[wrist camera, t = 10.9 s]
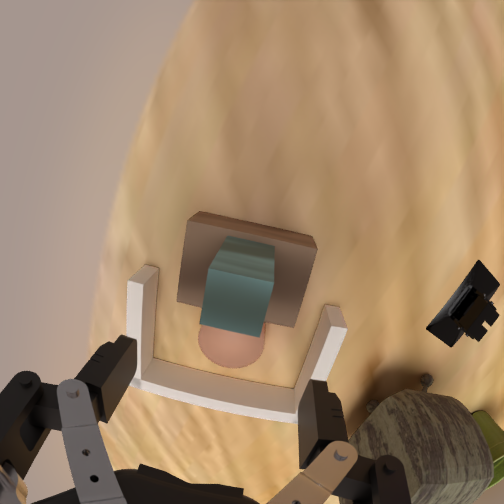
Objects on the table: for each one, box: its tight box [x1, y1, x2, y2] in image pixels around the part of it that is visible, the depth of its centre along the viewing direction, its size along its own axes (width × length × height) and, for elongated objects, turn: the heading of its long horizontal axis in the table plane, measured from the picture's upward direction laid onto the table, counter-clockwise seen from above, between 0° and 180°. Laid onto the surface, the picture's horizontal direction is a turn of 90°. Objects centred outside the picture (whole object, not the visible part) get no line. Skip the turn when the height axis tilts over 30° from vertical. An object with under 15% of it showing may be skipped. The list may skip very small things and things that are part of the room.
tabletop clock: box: [339, 374, 494, 504], centre depth 21 cm, size 14×9×25 cm, turn 160°
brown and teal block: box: [177, 211, 317, 338], centre depth 23 cm, size 7×10×11 cm
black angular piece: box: [426, 260, 500, 347], centre depth 26 cm, size 12×7×5 cm, turn 147°
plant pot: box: [472, 411, 504, 490], centre depth 29 cm, size 12×12×11 cm
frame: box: [127, 265, 348, 424], centre depth 29 cm, size 12×19×4 cm, turn 78°
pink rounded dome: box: [198, 322, 265, 368], centre depth 29 cm, size 6×6×3 cm
